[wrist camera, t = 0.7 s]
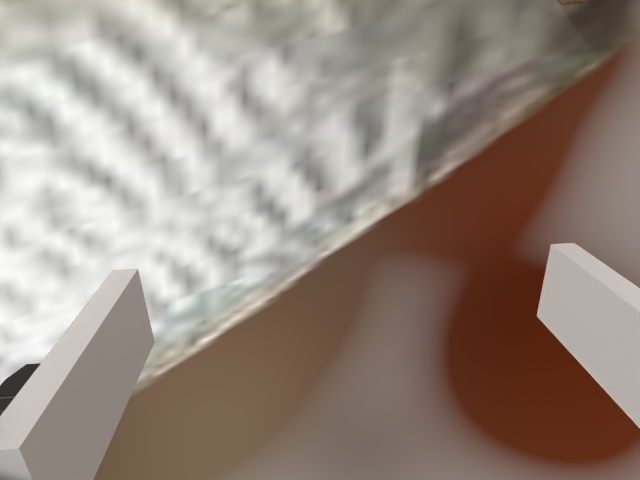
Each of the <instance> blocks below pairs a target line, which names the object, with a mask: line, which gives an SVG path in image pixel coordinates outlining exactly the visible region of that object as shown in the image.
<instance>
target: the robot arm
mask: <svg viewBox="0 0 640 480" xmlns="http://www.w3.org/2000/svg"><path fill="white" fill-rule="evenodd" d="M537 317H538V318H539V319H540V320H541V321H542V322H543V323H544V324H545V326H546V327H547V328H548V329H549V330H550V331H551V332H552V333H553V334H554V335H555V336H556V338H557V339H558V340H559V341H560V342H561V343H562V344H563V345H564V346H565V347H566V349H567V350H568V351H569V352H570V353H571V354H572V355H573V356H574V357H575V358H576V359H577V361H578V362H579V363H580V364H581V365H582V366H583V367H584V368H585V369H586V370H587V371H588V373H589V374H590V375H591V376H592V377H593V378H594V379H595V380H596V381H597V382H598V383H599V384H600V385H601V387H602V388H603V389H604V390H605V391H606V392H607V393H608V394H609V395H610V397H611V398H612V399H613V400H614V401H615V402H616V403H617V404H618V405H619V406H620V407H621V408H622V410H623V411H624V412H625V413H626V414H627V415H628V416H629V417H630V418H631V419H632V420H633V422H634V423H635V424H636V425H637V426H638V427H639V428H640V288H638V287H637V286H635V285H634V284H633V283H631V282H630V281H628V280H627V279H625V278H624V277H622V276H621V275H620V274H618V273H617V272H615V271H614V270H612V269H611V268H609V267H608V266H607V265H605V264H604V263H602V262H601V261H599V260H598V259H597V258H595V257H594V256H592V255H591V254H589V253H588V252H586V251H585V250H584V249H582V248H581V247H579V246H578V245H576V244H575V243H564V244H551V247H550V252H549V257H548V262H547V267H546V272H545V277H544V282H543V287H542V292H541V297H540V302H539V307H538V313H537ZM153 344H154V338H153V334H152V329H151V325H150V320H149V316H148V312H147V307H146V303H145V298H144V294H143V290H142V285H141V281H140V276H139V272H138V269H128V270H112V272H111V273H110V274H109V276H108V277H107V278H106V280H105V281H104V282H103V283H102V285H101V286H100V287H99V289H98V290H97V291H96V293H95V294H94V295H93V296H92V298H91V299H90V300H89V302H88V303H87V304H86V306H85V307H84V308H83V309H82V311H81V312H80V313H79V315H78V316H77V317H76V318H75V320H74V321H73V322H72V324H71V325H70V326H69V328H68V329H67V330H66V331H65V333H64V334H63V335H62V337H61V338H60V339H59V341H58V342H57V343H56V344H55V346H54V347H53V348H52V350H51V351H50V352H49V354H48V355H47V356H46V357H45V359H44V360H43V361H42V363H40V364H26V365H25V366H24V367H22V368H21V369H19V370H18V371H17V372H15V373H14V374H13V375H11V376H10V377H8V378H7V379H6V380H5V381H4V382H3V383H2V384H1V386H0V480H93V479H94V477H95V474H96V472H97V470H98V468H99V465H100V463H101V461H102V459H103V456H104V454H105V452H106V450H107V447H108V445H109V443H110V440H111V438H112V436H113V434H114V432H115V429H116V427H117V425H118V423H119V420H120V418H121V416H122V414H123V411H124V409H125V407H126V405H127V402H128V400H129V398H130V396H131V393H132V391H133V389H134V387H135V384H136V382H137V380H138V378H139V376H140V373H141V371H142V369H143V367H144V364H145V362H146V360H147V358H148V355H149V353H150V351H151V349H152V346H153Z"/></svg>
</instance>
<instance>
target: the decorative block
mask: <svg viewBox="0 0 640 480" xmlns="http://www.w3.org/2000/svg"><path fill="white" fill-rule="evenodd" d="M589 1H595V0H560V2H561V4H565V5H569V4H575V3H582V2H589Z"/></svg>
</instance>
